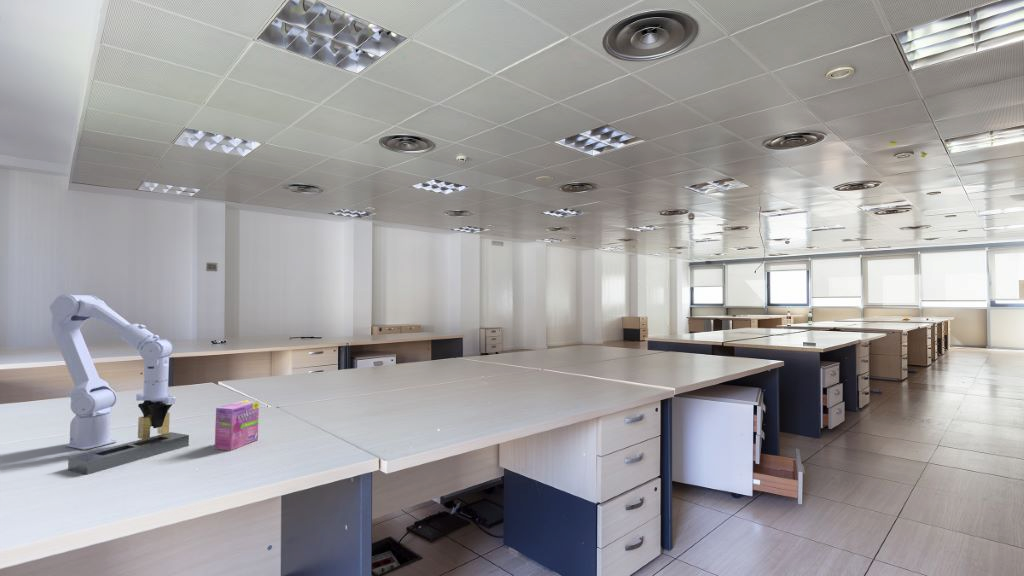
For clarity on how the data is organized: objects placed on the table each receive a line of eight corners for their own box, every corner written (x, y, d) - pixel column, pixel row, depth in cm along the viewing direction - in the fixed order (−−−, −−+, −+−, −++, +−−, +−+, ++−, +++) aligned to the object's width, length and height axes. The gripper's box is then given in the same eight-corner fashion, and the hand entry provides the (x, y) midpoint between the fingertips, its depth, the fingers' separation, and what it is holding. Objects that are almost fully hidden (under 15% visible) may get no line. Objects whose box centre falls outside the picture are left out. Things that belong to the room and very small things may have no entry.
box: (231, 451, 128) (232, 408, 129) (214, 449, 129) (215, 407, 130) (258, 440, 138) (259, 400, 139) (242, 438, 140) (243, 399, 140)
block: (68, 469, 113) (68, 457, 113) (170, 442, 136) (170, 432, 136) (87, 474, 110) (87, 461, 110) (188, 445, 133) (188, 435, 133)
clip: (137, 438, 132) (138, 417, 132) (163, 431, 139) (164, 411, 139) (143, 439, 131) (143, 418, 132) (168, 432, 138) (169, 412, 138)
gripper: (125, 380, 135) (123, 427, 134) (157, 384, 129) (155, 433, 129) (151, 377, 141) (149, 421, 141) (183, 380, 136) (181, 426, 135)
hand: (154, 426), depth 135 cm, fingers closed on clip, 2 cm apart
